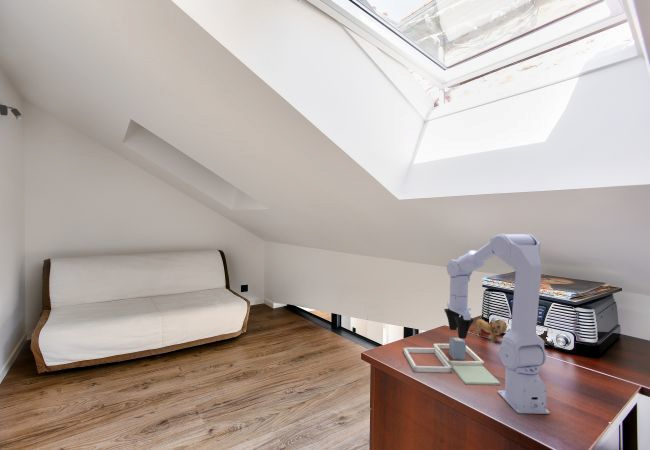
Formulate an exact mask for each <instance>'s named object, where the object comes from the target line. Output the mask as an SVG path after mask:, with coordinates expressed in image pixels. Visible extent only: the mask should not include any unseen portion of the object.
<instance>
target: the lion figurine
mask: <svg viewBox="0 0 650 450" xmlns="http://www.w3.org/2000/svg"><path fill="white" fill-rule="evenodd" d="M507 329H508V324H507V322H506V321H505V320H504V319H501V318H500V319H497V320H494V321H493V320H492V321H490V322H488V321H485V320H484V319H480V318H478V319H477V320H476V322H475V324H474V327H473V328H472V329H471V330H469V332H471V333H472V332H474V331H475V330H476V331H475V334H476V337H478V338H480V337H481V335H480V330H483V331H484V332H486V333H489V334H490V342H491V343H493V344H495V342H497V341H498V339H497V336H500V335H502V334H504V333H506V332H507Z"/></svg>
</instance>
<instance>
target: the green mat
mask: <svg viewBox="0 0 650 450" xmlns="http://www.w3.org/2000/svg"><path fill="white" fill-rule="evenodd" d="M452 371H453V372H455V374H456V375H457V376H458V378H460V380H461V381H462V382H463V383H464V384H465V385H486V386H487V385H488V386H490V385H492V386H497V385H498V386H499V385H501V382H500V381H499V380H498V379H497V378H496V377H495V376H494V375H493V374H492V373H490V371H488V369H486V367H485V366H484V367H483V366H452Z"/></svg>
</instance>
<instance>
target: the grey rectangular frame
mask: <svg viewBox="0 0 650 450" xmlns="http://www.w3.org/2000/svg"><path fill="white" fill-rule="evenodd" d="M402 352H403V353H404V355H405V358H406V359H407V361H408V363H409V365H410V366H411V368H412V370H413V371H414V373H448V374H449V373H453V369H452V367H451V366H450V365H449V363H448V362H447V361H446V360H445V359H444V357H443V356H442V355H441V354H440V352H439V351H438V350H437V349H436V348H433V347H403V348H402ZM410 353H411V354H434V355H435V356H436V358H437V359H438V360H439V361H440V362H441V364H442V365H443V366H436V365H433V366H431V365H430V366H429V365H426V366H425V365H420V366H419V365H416V363H415V361H414V360H413V358H412V356H411V354H410Z"/></svg>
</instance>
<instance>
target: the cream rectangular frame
mask: <svg viewBox="0 0 650 450" xmlns="http://www.w3.org/2000/svg"><path fill="white" fill-rule="evenodd" d="M432 346H433V347H432V348H436V349H437V350H438V351H439V352H440V354H441V355H442V356H443V357H444V359H445V360H446V361H447V362H448V363H449V365H450V366H451V367H452V366H483V367H484V368H485V361H484V360H483V359H482V358H480V356H478V355H477V353H475V352H474V350H472V349H471V348H470V347H468V345H466V353H467V354H468V355H469V356H470V357H471V358H472V359H473V360H450V359H449V357H447V355H446V354H445V353H444V352H443V350H442V349H445V350H447V349H448V350H449V343H433V345H432Z"/></svg>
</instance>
